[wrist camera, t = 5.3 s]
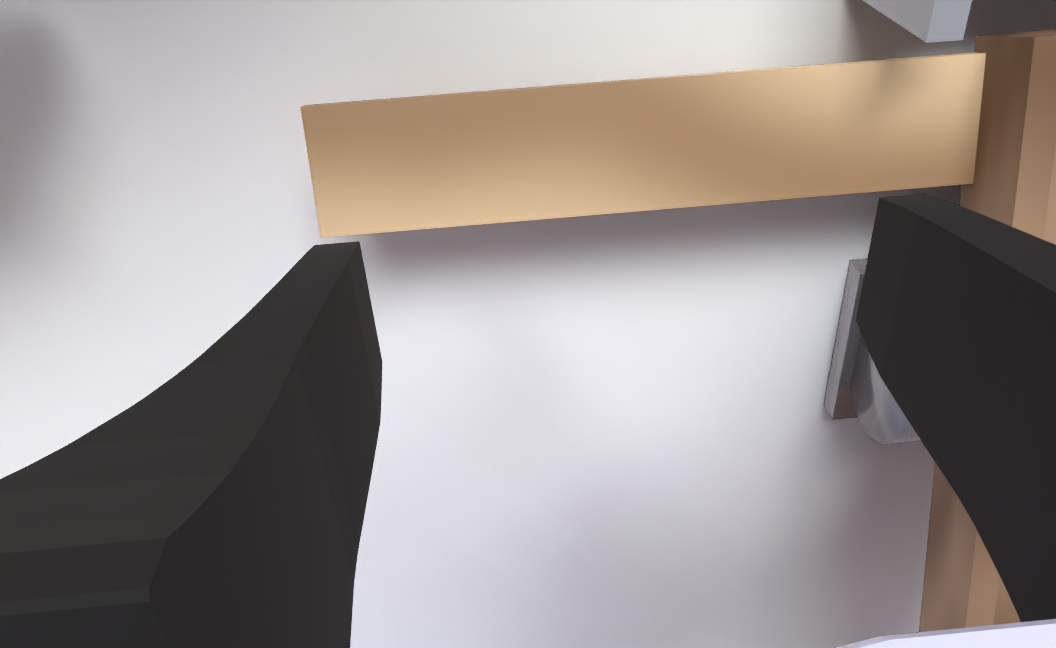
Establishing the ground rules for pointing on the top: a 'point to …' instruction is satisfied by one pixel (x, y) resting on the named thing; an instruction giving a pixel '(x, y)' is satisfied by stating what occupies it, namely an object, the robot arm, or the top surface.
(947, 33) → the tray
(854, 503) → the top surface
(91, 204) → the top surface
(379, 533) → the top surface
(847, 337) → the fulcrum
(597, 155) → the ramp
